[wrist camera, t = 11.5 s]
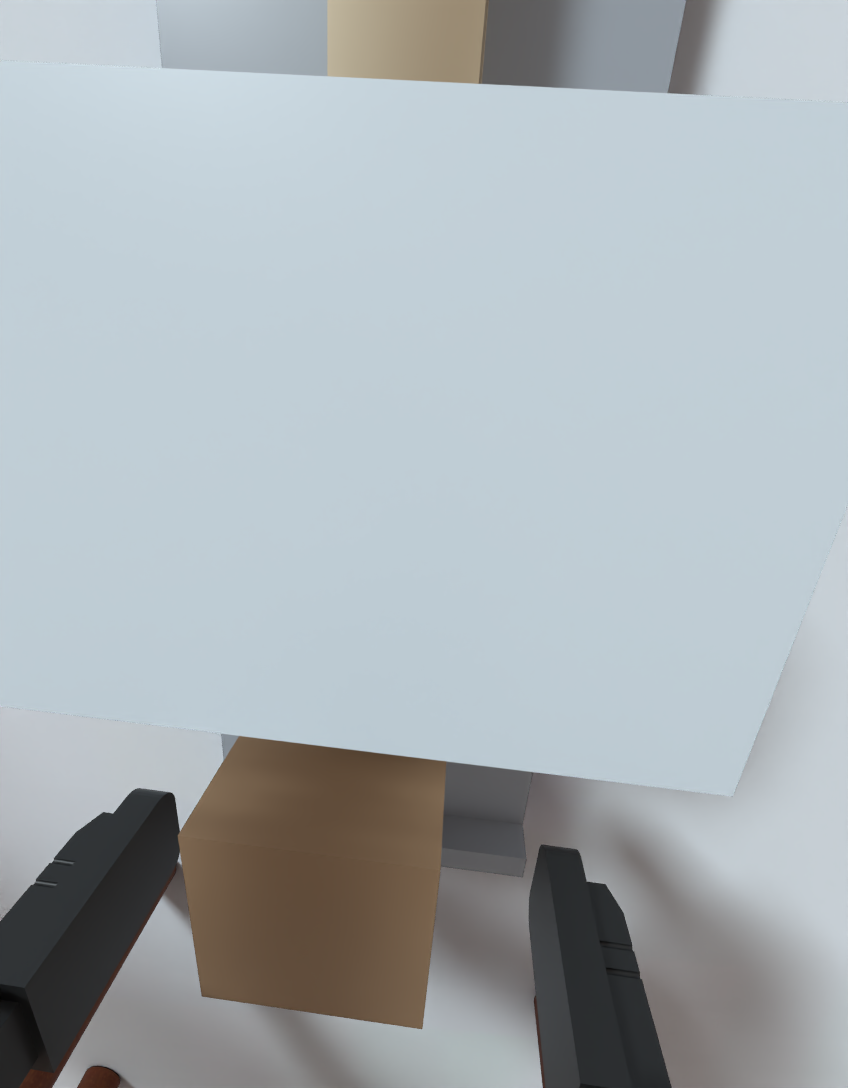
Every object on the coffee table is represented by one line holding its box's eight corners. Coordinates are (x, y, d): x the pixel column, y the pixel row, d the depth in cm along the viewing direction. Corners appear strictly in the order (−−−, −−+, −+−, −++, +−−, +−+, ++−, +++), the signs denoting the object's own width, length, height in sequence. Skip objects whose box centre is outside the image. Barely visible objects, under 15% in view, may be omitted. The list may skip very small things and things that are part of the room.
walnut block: (315, 726, 15) (201, 996, 9) (314, 614, 14) (177, 835, 7) (442, 741, 15) (422, 1028, 9) (453, 628, 14) (440, 870, 7)
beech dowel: (350, 618, 14) (328, 667, 12) (368, -405, 8) (326, -730, 5) (434, 626, 14) (428, 678, 12) (523, -407, 7) (549, -740, 5)
